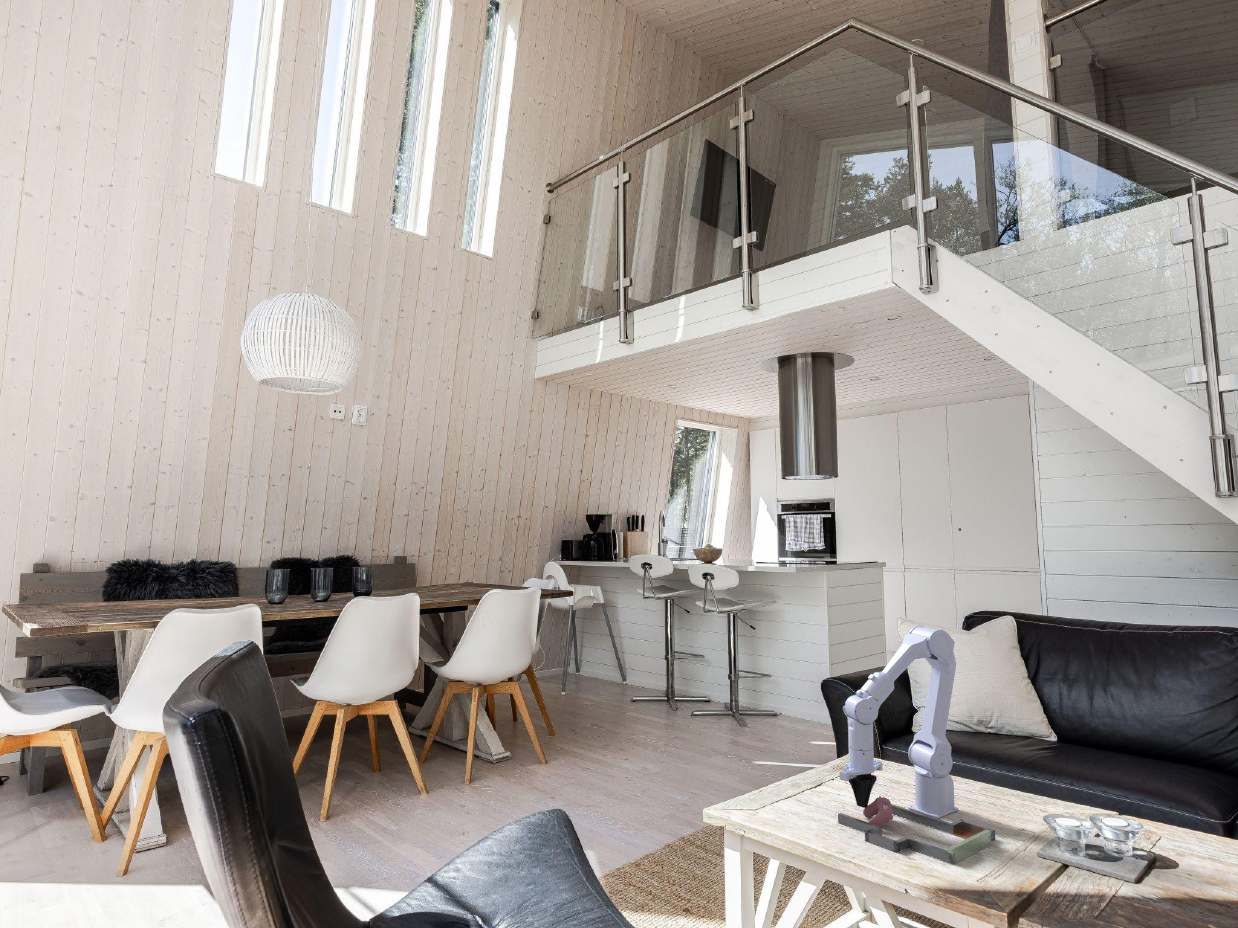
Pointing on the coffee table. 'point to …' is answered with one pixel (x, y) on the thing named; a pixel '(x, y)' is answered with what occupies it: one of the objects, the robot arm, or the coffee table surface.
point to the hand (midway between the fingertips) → (862, 805)
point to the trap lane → (973, 842)
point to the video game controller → (879, 811)
